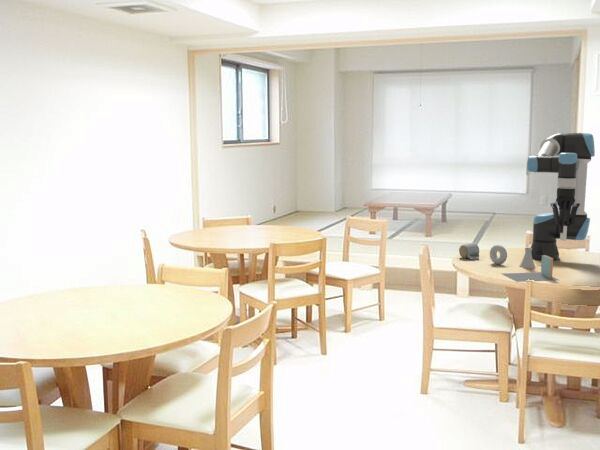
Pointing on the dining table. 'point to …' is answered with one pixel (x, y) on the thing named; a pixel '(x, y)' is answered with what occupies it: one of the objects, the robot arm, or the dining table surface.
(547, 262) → the tile
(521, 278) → the mat
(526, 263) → the flask
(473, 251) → the ceramic mug
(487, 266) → the dining table surface
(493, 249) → the donut
